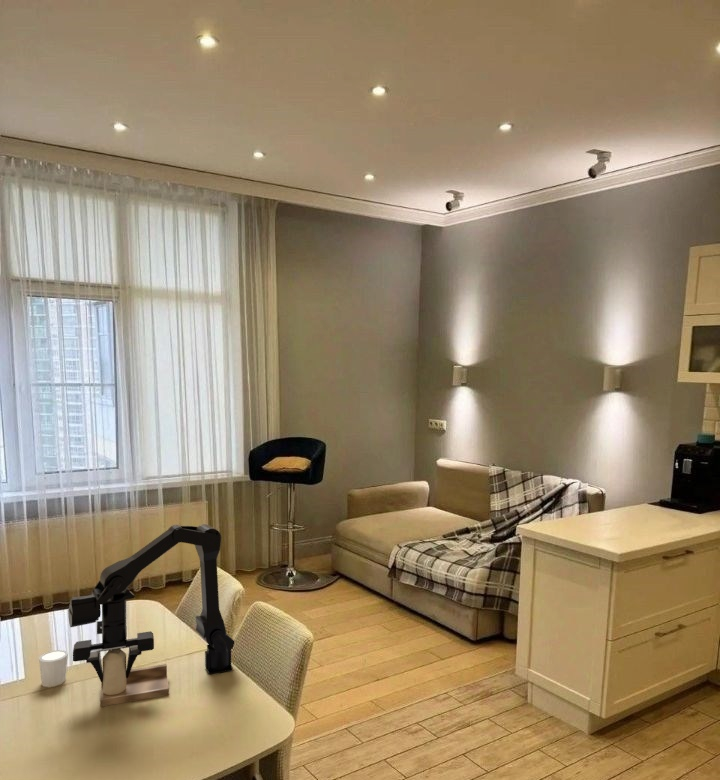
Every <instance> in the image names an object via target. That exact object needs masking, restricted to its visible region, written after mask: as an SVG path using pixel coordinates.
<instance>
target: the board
mask: <svg viewBox="0 0 720 780" xmlns="http://www.w3.org/2000/svg"><path fill="white" fill-rule="evenodd" d="M167 664H168V663H163V664H158V665H151V666H145V667H139V668H133V669H132V668H131V671H130V674H129V677H128V678H126V689H125V691H123V692H122V693H119V694H116V695H106V694H104V693H103V682H101V681H100V683H101V688H100V689H101V690H100V696H99V697H100V700H99V702H100V703H99V706H100V707H105V706H111V705H118V704H123V703H129V702H135V701H139V700H145V699H150V698H151V699H152V698H157V697H162V696H167V695H169V694H170V691H169V690H170V689H169V681H168V680H169V679H168V670H167V669H168V665H167Z"/></svg>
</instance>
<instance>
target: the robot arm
mask: <svg viewBox="0 0 720 780" xmlns="http://www.w3.org/2000/svg"><path fill="white" fill-rule="evenodd" d="M179 543H181V544H182V543H183V544H189V545H194V547H195V550H196V552H197V555H198V558H199V567H200V568H199V569H200V586H201V604H202V605H201V606H202V608H201V609H202V610H201V613H200V615H196V616H195V622H196V627H195V631H196V632H197V633H198V634H199V636H200V638H201V639H202V640H204V641H205V643H206V644H207V645H206V650H205V651H204V667H205V670H207V674H208V675H213V674H219V673H226V672H230V671H233V670H234V669H233V668H234V667H233V666H232V665H233V664H232V650H233V648H234V646H235V643H236V641H235V640H234V639H233V638H232V637H231V636H230V635H229V634H227V630H226V624H225V621H224V618H223V616H222V614H221V610H220V600H219V598H220V597H219V580H218V579H219V578H218V561H217V560H218V557H219V554H220V551H221V547H222V546H221V544H222V535H221V532H220V531H219V530H218V529H216V528H215V527H212V526H211V525H209V524H200V525H198V526H193V525H179V524H172V525H171V526H170V527H169V528H168V529H167V530H165V531H164V532H162V534H160V535H159V536H157V537H156V538H155V539H153V540H152V541H150V542H149V543H148V544H146V545H145V546H144V547H142V548H141V549H139V550H138V551H137V552H134V554H132V555H130V556H129V557H127V558H124V559H121V560H118V561H116V562H114V563H112V564H111V565H108V566H107V567H105V568H104V569H103V570H102V571H101V573H100V576H99V580H98V582H97V584H96V585H95V586H94V587H93V589H92V591H91V594H89V595H83V596H73V597H70V600H69V602H70V603H69V606H68V610H67V615H68V624H69V627H70V628H75V627H79V626H85V625H90V624H95V623H96V635H101V642H100V643H95V644H93V643H92V639H87V640H79V641H76V642H75V643H74V645H73V650H72V662H82V661H85V662H86V663H87V664H88V663H90V664H91V665H92V667H93V669H94V670H95V671H96V674H97V676H98V679H99V681H100V683H101V682H103V663H102V658H101V652H108V651H109V650H114V649H121V650H122V649H126V648H127V649H128V654H127V655H128V656H127V660H126V678H128V677H129V674H130V671H131V669H132V667H133V665H134V663H135V661H136V659H137V657H138V656H141V655H142V654H143V653H142V652H148V651H153V650H154V649H155V638H154V633H153V632H152V631H145V632H137V634H136V637H134V638H128V639H127V637H128V636H127V635H128V626H127V600H133V599H135V598H136V596H135V594H134V593H133V592H132V591H130V589H129V588H128V587H129V586H130V585H132V583H133V582H134V581H135V579H136V578H137V576H138V575H139V574H140V573H141V572H142V571H143V570H144V569H146V568H147V567H148V566H149V565H151V564H153V562H155V561H156V560H157V559H159V558H160V557H162V556H163V555H164V554H166V553H167V552H168V551H169V550H171V549H172V548H174V547H175V546H176V545H178V544H179ZM99 618H101V620H99Z"/></svg>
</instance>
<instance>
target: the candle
mask: <svg viewBox="0 0 720 780" xmlns="http://www.w3.org/2000/svg"><path fill="white" fill-rule="evenodd" d="M126 669H127V653H126V652H125V651H124V650H122V648H121V649H114V650H108V651H106V653H105V654H104V655H103V656H102V671H103V693H104V694H106V695H116V694H119V693H122V692H123V691H125V689H126Z"/></svg>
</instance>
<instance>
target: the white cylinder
mask: <svg viewBox="0 0 720 780" xmlns="http://www.w3.org/2000/svg"><path fill="white" fill-rule="evenodd" d="M68 655H69V653H68V651H66V650H63V649H62V650H60V649H59V650H58V649H57V650H51V651H47V652H45V653H43V654H41V655H40V656H39V658H38V662H39V663H38V664H39V672H40V681H41V686H42V687H45V688H51V687H57V686H60V685H62V684H63V683H64V682H65V681H66V678H67V667H68V658H69V657H68Z"/></svg>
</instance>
